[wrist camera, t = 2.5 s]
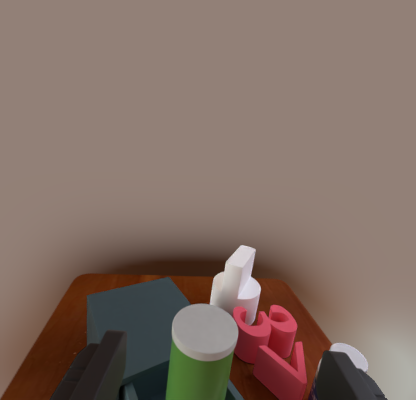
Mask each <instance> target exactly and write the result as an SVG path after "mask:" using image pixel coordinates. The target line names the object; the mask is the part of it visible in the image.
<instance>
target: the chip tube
mask: <svg viewBox="0 0 416 400" xmlns="http://www.w3.org/2000/svg"><path fill="white" fill-rule="evenodd" d="M237 339H238V327H237V324H236V322H235V320H234V319H233V317H232V316H231V315H230V314H229V313H227V312H226V311H225V310H223V309H221V308H219V307H216V306H213V305H209V304H194V305H190V306H187V307H185V308H183V309H181V310H180V311H179V312H178V313H177V314H176V316H175V317H174V320H173V323H172V343H171V353H170V362H169V371H168V381H167V390H166V399H165V400H225V397H226V391H227V386H228V380H229V375H230V370H231V364H232V359H233V354H234V348H235V346H236V344H237Z"/></svg>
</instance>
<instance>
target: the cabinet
mask: <svg viewBox="0 0 416 400" xmlns="http://www.w3.org/2000/svg"><path fill="white" fill-rule="evenodd" d="M190 305H191V304H190V303H189V301H188V300H187V299H186V298H185V296H184V295H183V294H182V293H181V291H180V290H179V289H178V288H177V286H176V285H175V284H174V283H173V281H172V280H171V279H170V278H169V277H166V278H162V279H157V280H153V281H149V282H144V283H140V284H135V285H131V286H126V287H122V288H117V289H113V290H109V291H104V292H100V293H95V294H91V295H87V345H88V344H90V343H97V344H100V342H101V340H102V338H103V336H104V334H105V332H106V331H107V330H108V329H109V330H120V331H127V351H126V366H125V372H124V376H123V380H122V383H121V385H120V386H122V385H124V384H127V383H129V382H131V381H134V380H136V379H138V378H141V377H143V376H145V375H147V374H150V373H152V372H154V371H157V370H159V369H161V368H163V367H166V366H168V365H169V362H170V353H171V343H172V323H173V320H174V317H175V316H176V314H177V313H178V312H179V311H180V310H181V309H183V308H185V307H187V306H190ZM115 400H119V391H118V394H117V397H116V399H115Z"/></svg>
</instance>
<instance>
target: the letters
mask: <svg viewBox="0 0 416 400" xmlns="http://www.w3.org/2000/svg"><path fill="white" fill-rule="evenodd" d="M246 313H247V310H246V309H245V308H243V307H240V306H238V307H235V308H234V310H233V315H232V317H233V319H234V320H235V322H236V324H237V327H238V339H237V344H236V346H235V348H234V353H235V354H236V355H237V356H238V357H239V358H240V359H241V360H243V361H244V362H247V363H251V364H254V369H253V373H252V374H253V375H254V376H255V377H256V378H257V379H258V380H259V381H260V382H261V383H262V384H263V385H264V386H266V387H267V388H268V389H269V390H270V391H271V392H272V393H273V394H274V395H275V396H276V397H277V398H278V399H279V400H303V396H304V393H305V389H306V386H307V377H306V369H305V361H304V353H303V345H302V342H295V346H294V350H293V354H292V358H291V362H290V365H289V364H288V363H287V362H285V361H284V360H283V359H282V358H287V357H289V356H290V353H291V349H292V346H293V342H294V338H295V334H296V330H297V323H296V321H295V319H294V318H293V317H292V315H291V314H290V313H289V312H288V311H287V310H286V309H284V308H283V307H281V306H278V305H272V306H271V308H270V312H269V317H267V315H266V314H265V312H259V316H258V320H257V325H256V326H250V325H247V324H245V318H246Z"/></svg>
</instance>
